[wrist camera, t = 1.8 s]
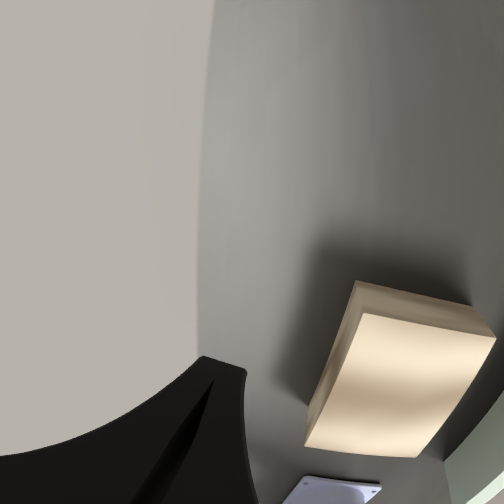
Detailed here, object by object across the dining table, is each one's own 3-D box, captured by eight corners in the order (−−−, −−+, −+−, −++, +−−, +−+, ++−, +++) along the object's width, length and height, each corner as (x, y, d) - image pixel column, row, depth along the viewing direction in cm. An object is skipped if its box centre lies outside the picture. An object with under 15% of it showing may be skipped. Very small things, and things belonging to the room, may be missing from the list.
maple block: (407, 417, 19) (416, 457, 16) (308, 403, 20) (304, 446, 17) (470, 304, 16) (496, 338, 12) (355, 277, 17) (363, 312, 13)
